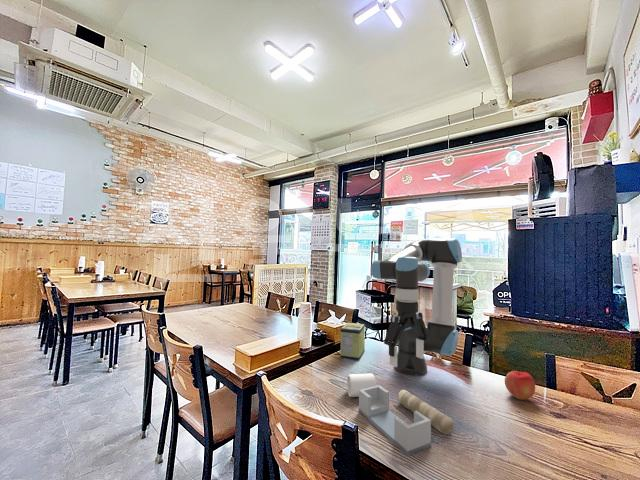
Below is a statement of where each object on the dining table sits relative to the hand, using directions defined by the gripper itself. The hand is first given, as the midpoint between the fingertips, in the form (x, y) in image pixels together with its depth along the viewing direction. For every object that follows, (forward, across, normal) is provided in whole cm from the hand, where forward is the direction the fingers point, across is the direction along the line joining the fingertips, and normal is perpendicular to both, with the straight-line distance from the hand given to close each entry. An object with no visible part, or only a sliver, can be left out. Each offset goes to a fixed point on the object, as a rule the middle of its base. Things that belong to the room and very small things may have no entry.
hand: (407, 361), depth 99 cm
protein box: (+18, -20, -55) cm, 61 cm away
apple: (+18, -47, +15) cm, 53 cm away
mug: (+19, +4, -21) cm, 28 cm away
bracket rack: (+18, +10, +2) cm, 21 cm away
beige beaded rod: (+16, -4, +4) cm, 17 cm away
